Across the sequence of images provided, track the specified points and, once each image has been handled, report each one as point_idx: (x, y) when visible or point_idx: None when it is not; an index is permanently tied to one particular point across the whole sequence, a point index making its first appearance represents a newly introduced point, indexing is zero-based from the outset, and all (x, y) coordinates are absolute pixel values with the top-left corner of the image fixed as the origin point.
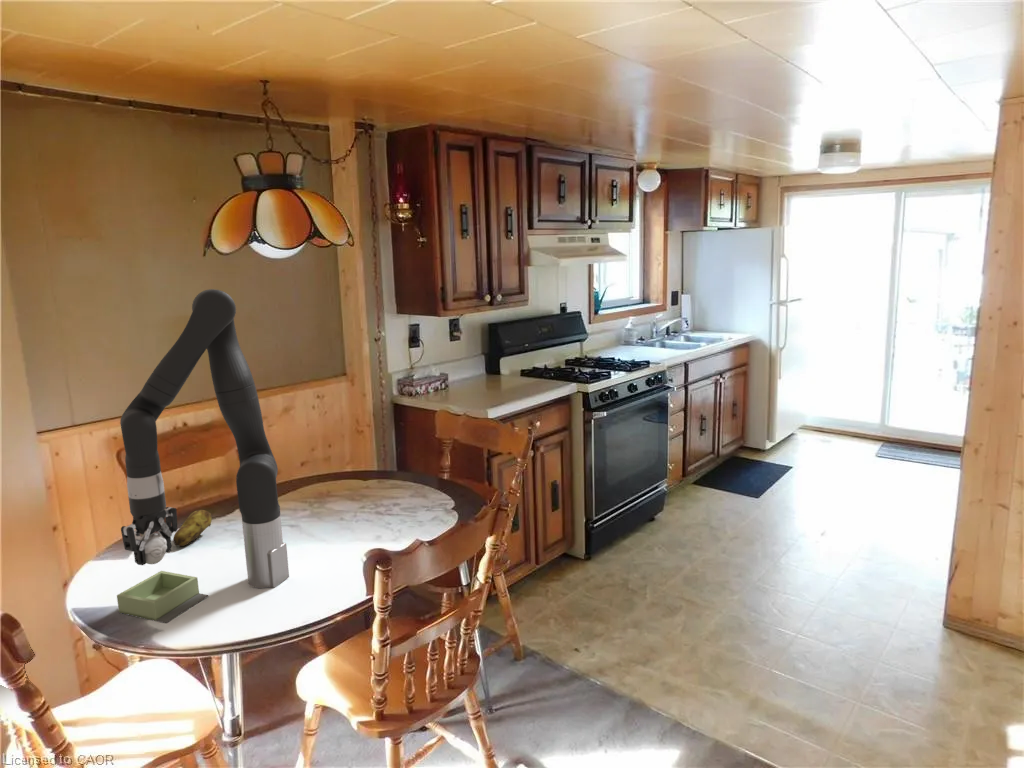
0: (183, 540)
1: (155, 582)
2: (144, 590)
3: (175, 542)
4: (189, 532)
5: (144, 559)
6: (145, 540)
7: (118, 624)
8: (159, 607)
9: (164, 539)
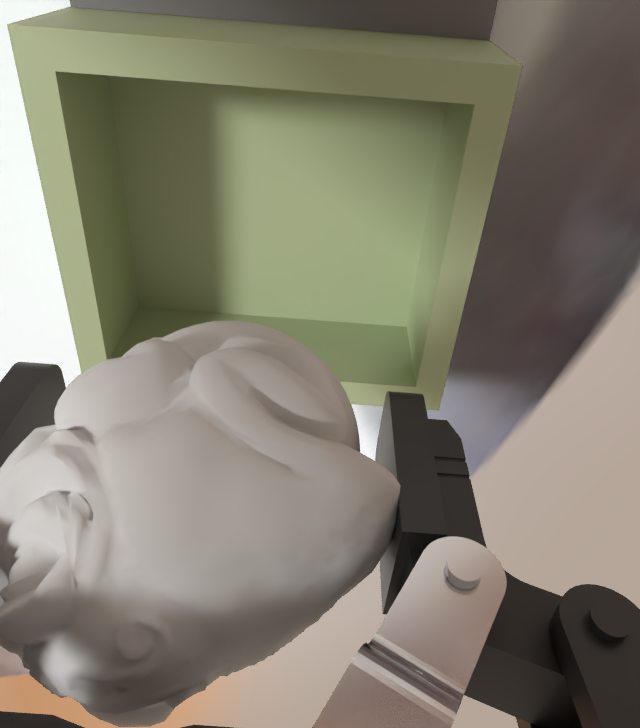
0: None
1: None
2: None
3: None
4: None
5: (411, 428)
6: (403, 667)
7: (539, 259)
8: (462, 51)
9: (11, 506)
